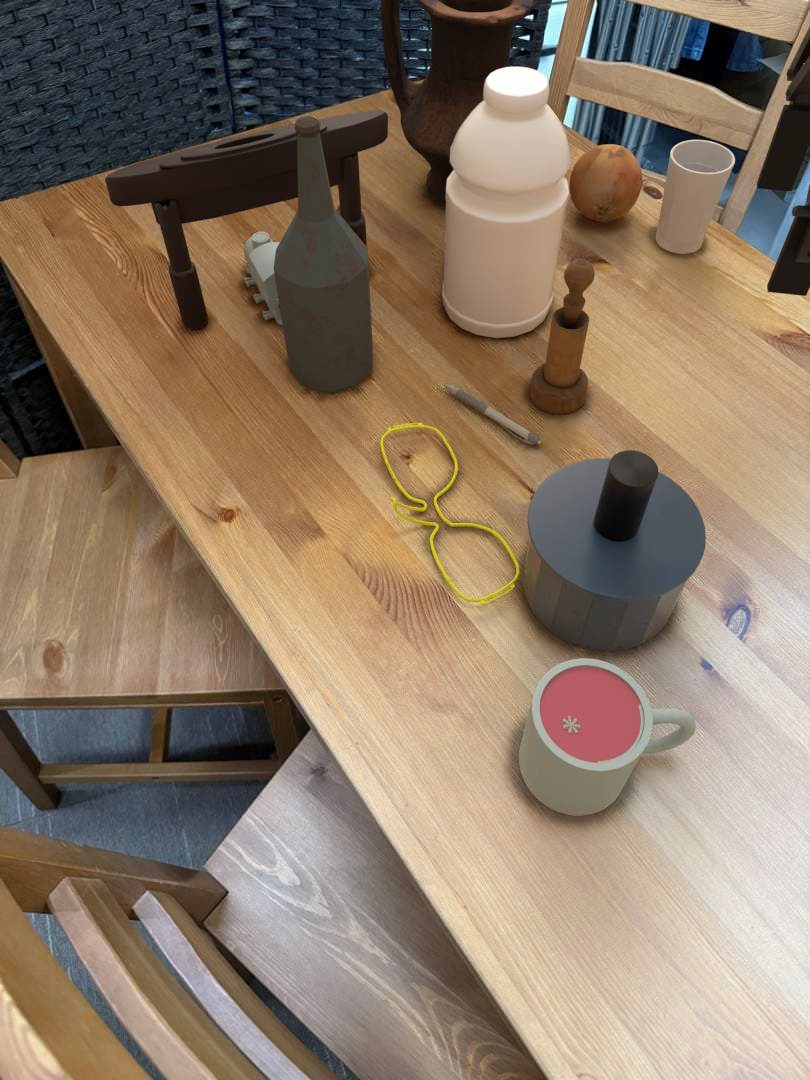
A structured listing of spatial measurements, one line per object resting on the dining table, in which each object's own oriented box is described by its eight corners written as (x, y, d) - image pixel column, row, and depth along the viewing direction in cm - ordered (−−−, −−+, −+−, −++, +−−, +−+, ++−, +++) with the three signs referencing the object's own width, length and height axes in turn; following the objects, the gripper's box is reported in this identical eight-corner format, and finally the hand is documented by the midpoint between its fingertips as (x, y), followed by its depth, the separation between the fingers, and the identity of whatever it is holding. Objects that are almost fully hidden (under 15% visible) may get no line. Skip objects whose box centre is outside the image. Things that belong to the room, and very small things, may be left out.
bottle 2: (515, 259, 115) (540, 37, 92) (572, 319, 107) (614, 94, 85) (422, 289, 111) (424, 66, 89) (474, 353, 104) (491, 128, 81)
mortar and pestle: (533, 371, 102) (552, 239, 87) (587, 378, 101) (616, 246, 87) (526, 410, 98) (545, 279, 84) (582, 418, 97) (612, 287, 83)
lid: (700, 478, 80) (728, 412, 73) (704, 618, 71) (735, 559, 64) (535, 456, 82) (546, 390, 75) (517, 590, 73) (528, 529, 66)
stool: (85, 134, 94) (361, 73, 102) (135, 291, 111) (368, 228, 119) (117, 209, 86) (415, 136, 94) (166, 366, 103) (415, 293, 111)
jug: (536, 160, 129) (564, -72, 105) (518, 230, 119) (544, -9, 94) (401, 144, 132) (397, -84, 108) (371, 212, 122) (360, -25, 97)
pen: (537, 451, 94) (538, 443, 93) (441, 392, 100) (441, 383, 99) (542, 446, 95) (544, 437, 94) (447, 387, 100) (447, 379, 99)
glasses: (533, 592, 83) (538, 565, 80) (440, 625, 81) (441, 599, 77) (432, 421, 97) (433, 390, 93) (351, 446, 95) (348, 415, 91)
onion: (626, 194, 124) (641, 126, 116) (640, 235, 118) (657, 166, 110) (560, 196, 124) (570, 128, 115) (570, 237, 118) (582, 168, 110)
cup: (643, 249, 116) (664, 166, 106) (655, 217, 120) (677, 134, 110) (702, 262, 114) (729, 179, 104) (713, 229, 118) (739, 146, 109)
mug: (526, 818, 70) (541, 774, 62) (512, 714, 76) (524, 661, 68) (690, 809, 71) (726, 764, 63) (665, 706, 76) (694, 652, 68)
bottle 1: (294, 338, 106) (258, 93, 82) (373, 337, 106) (361, 92, 82) (288, 397, 100) (248, 151, 75) (372, 396, 100) (358, 150, 75)
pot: (673, 537, 87) (698, 477, 80) (673, 662, 79) (701, 609, 71) (530, 517, 89) (541, 456, 81) (515, 638, 80) (526, 583, 73)
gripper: (818, -161, 57) (724, 146, 74) (867, 0, 42) (736, 335, 59) (937, -155, 56) (814, 154, 73) (1029, 11, 41) (849, 348, 59)
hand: (779, 236), depth 66 cm, fingers open, 13 cm apart
